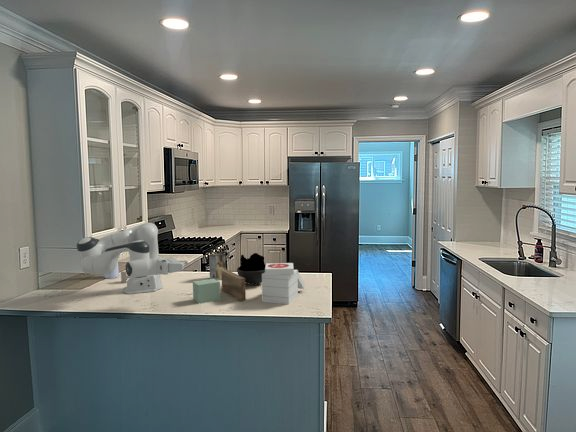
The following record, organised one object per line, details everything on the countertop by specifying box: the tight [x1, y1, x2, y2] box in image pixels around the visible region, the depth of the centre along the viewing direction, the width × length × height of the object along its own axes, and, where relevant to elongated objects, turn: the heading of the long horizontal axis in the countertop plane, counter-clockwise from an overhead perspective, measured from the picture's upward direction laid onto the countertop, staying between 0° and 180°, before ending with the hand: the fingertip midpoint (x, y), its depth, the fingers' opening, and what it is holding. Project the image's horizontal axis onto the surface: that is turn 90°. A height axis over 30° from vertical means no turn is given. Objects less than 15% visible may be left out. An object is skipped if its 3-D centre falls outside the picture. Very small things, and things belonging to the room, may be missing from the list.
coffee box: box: [208, 252, 227, 281], centre depth 282 cm, size 9×6×16 cm
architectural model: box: [120, 270, 130, 284], centre depth 277 cm, size 3×7×7 cm, turn 52°
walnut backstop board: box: [221, 269, 247, 302], centre depth 242 cm, size 3×26×12 cm, turn 30°
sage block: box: [192, 278, 221, 304], centre depth 234 cm, size 12×9×10 cm
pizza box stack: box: [261, 262, 306, 305], centre depth 238 cm, size 19×30×18 cm, turn 160°
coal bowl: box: [236, 252, 266, 286], centre depth 266 cm, size 20×20×19 cm
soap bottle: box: [103, 261, 120, 279], centre depth 290 cm, size 9×9×25 cm
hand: (186, 262), depth 227 cm, fingers closed
